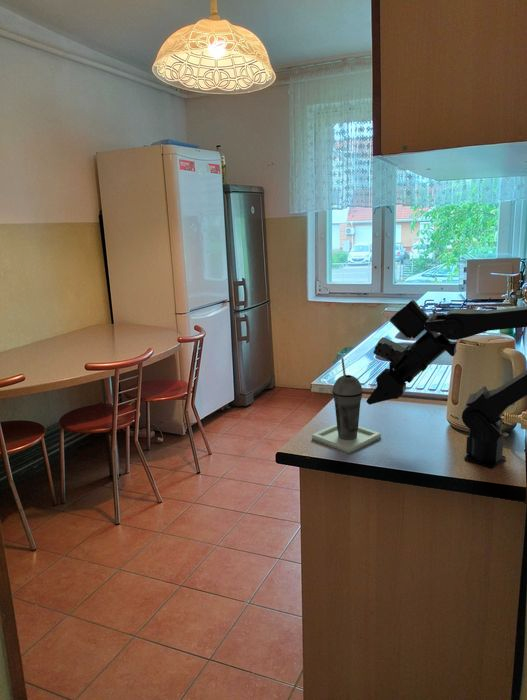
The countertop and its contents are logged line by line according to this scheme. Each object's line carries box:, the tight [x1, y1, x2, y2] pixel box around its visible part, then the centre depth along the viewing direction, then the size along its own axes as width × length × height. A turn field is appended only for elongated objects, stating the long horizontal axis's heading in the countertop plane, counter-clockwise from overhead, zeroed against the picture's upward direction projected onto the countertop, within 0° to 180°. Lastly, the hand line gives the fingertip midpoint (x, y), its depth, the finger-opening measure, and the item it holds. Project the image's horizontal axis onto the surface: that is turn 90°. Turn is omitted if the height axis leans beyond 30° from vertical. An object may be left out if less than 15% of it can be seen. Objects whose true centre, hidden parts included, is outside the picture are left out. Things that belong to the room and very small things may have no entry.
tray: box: [311, 423, 382, 455], centre depth 129 cm, size 12×12×1 cm
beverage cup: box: [332, 357, 364, 440], centre depth 126 cm, size 7×7×20 cm
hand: (372, 396), depth 123 cm, fingers open, 9 cm apart
